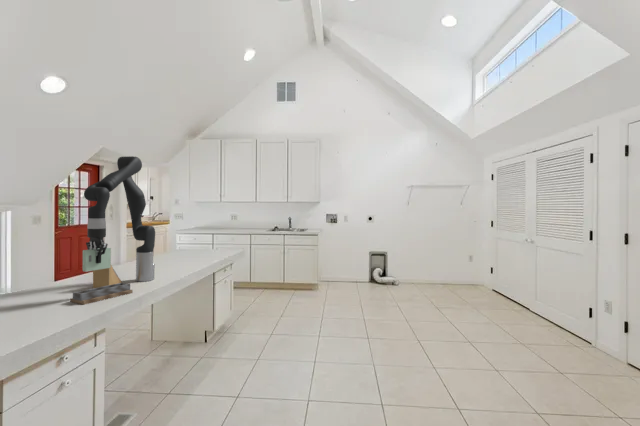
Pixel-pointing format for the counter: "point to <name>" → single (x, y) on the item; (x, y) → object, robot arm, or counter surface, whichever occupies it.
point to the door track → (100, 293)
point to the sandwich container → (105, 277)
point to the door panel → (90, 260)
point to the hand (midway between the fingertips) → (96, 262)
